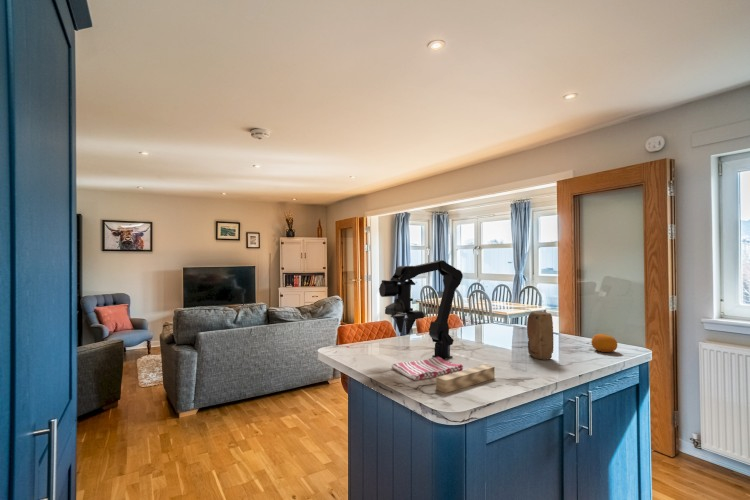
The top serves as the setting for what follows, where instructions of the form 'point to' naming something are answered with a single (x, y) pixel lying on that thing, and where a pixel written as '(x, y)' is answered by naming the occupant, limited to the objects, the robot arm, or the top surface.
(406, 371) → the dish towel
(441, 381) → the tan wooden bar
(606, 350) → the fruit
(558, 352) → the top surface
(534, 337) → the block
